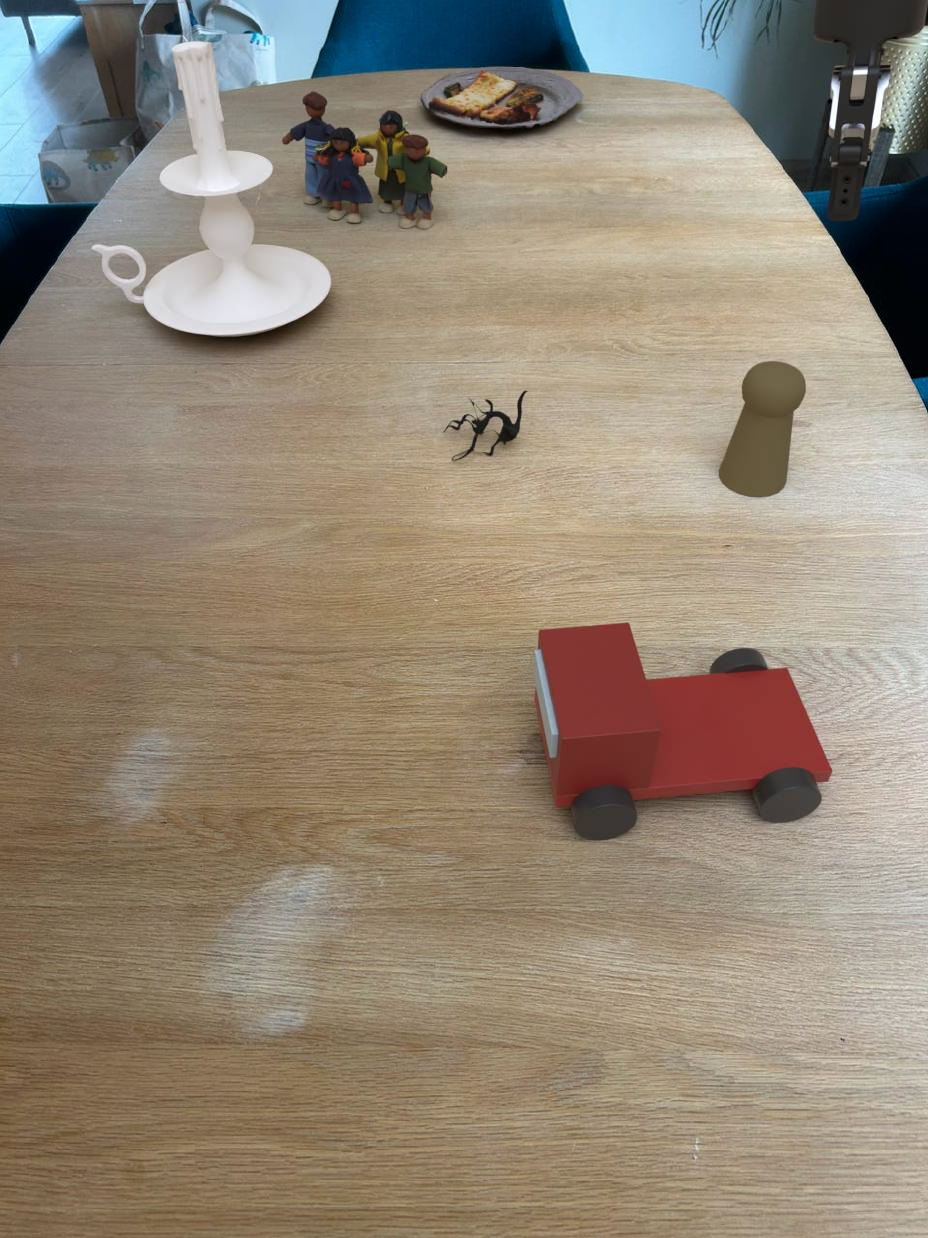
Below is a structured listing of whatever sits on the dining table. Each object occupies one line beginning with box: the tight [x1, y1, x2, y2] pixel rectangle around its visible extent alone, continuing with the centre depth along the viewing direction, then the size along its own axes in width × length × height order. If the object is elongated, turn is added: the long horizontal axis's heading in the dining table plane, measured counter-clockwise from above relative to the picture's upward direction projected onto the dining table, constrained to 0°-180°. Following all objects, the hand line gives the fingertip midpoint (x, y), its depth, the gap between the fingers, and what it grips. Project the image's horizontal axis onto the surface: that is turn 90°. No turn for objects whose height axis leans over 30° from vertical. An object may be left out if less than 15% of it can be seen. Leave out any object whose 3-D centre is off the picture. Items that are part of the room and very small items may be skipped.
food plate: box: [420, 66, 584, 131], centre depth 155 cm, size 25×23×4 cm
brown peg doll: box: [718, 360, 807, 498], centre depth 87 cm, size 6×6×11 cm
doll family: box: [281, 90, 448, 230], centre depth 127 cm, size 23×9×13 cm, turn 80°
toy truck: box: [532, 622, 833, 841], centre depth 66 cm, size 18×12×9 cm, turn 96°
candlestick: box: [91, 35, 332, 338], centre depth 103 cm, size 21×25×28 cm
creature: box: [442, 390, 528, 462], centre depth 93 cm, size 8×5×8 cm
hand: (844, 205), depth 78 cm, fingers open, 8 cm apart
